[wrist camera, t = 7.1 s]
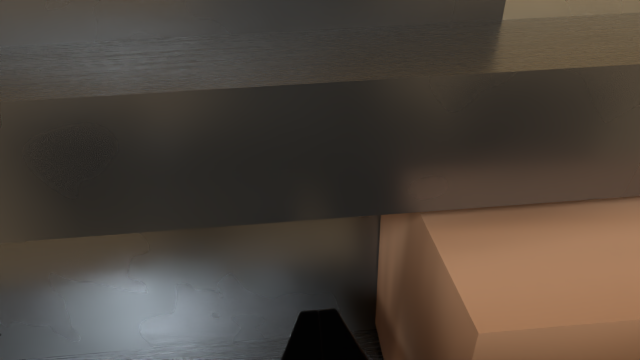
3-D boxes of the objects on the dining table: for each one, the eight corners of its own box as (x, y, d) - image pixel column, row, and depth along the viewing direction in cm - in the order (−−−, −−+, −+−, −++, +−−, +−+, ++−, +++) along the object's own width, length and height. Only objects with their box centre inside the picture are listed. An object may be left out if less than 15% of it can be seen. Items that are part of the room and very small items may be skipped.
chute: (599, 344, 15) (704, 478, 12) (-95, 406, 14) (-236, 577, 10) (822, -91, 8) (1304, -121, 4) (-551, -31, 7) (-1558, 0, 3)
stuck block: (570, 306, 12) (725, 506, 8) (375, 323, 12) (425, 539, 8) (646, 124, 9) (976, 289, 5) (384, 141, 9) (478, 333, 4)
